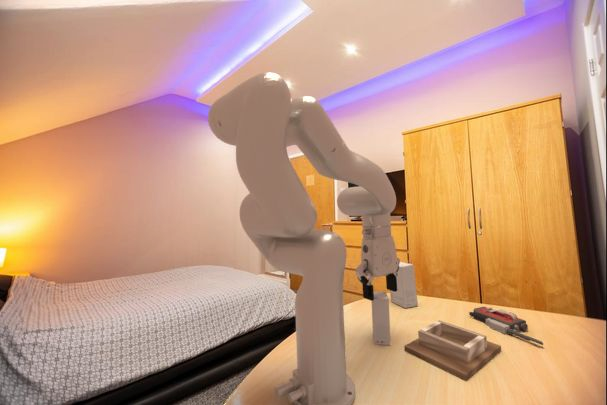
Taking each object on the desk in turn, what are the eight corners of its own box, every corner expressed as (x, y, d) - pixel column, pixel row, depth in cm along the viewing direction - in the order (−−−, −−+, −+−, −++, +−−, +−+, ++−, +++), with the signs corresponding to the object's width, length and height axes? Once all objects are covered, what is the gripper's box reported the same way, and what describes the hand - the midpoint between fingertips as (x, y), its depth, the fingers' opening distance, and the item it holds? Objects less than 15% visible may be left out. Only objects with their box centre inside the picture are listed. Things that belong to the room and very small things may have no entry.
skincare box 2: (418, 306, 90) (415, 264, 91) (404, 309, 89) (401, 266, 89) (402, 299, 98) (400, 260, 99) (389, 301, 97) (387, 262, 97)
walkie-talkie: (463, 318, 80) (540, 350, 61) (463, 304, 80) (539, 332, 61) (483, 314, 83) (562, 343, 64) (482, 300, 83) (561, 325, 64)
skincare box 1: (391, 346, 65) (389, 298, 65) (374, 345, 66) (372, 298, 66) (388, 334, 71) (386, 291, 71) (372, 333, 72) (370, 291, 72)
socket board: (466, 380, 51) (464, 359, 51) (404, 350, 63) (403, 333, 63) (501, 350, 61) (500, 333, 61) (442, 329, 73) (441, 314, 73)
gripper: (365, 236, 62) (369, 307, 62) (407, 229, 71) (411, 290, 71) (344, 234, 68) (348, 298, 68) (385, 228, 78) (389, 284, 77)
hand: (380, 294), depth 69 cm, fingers open, 9 cm apart
